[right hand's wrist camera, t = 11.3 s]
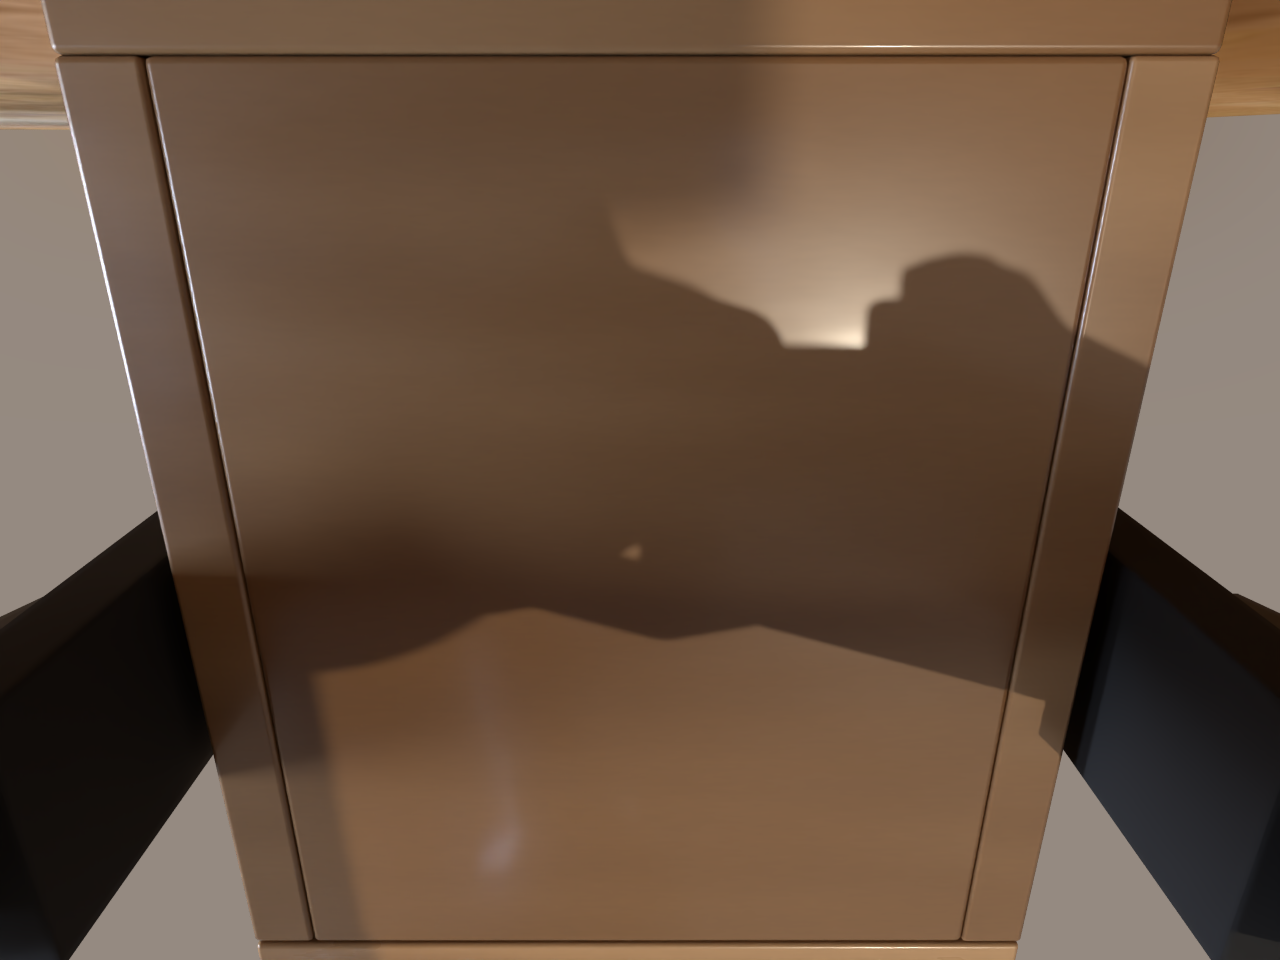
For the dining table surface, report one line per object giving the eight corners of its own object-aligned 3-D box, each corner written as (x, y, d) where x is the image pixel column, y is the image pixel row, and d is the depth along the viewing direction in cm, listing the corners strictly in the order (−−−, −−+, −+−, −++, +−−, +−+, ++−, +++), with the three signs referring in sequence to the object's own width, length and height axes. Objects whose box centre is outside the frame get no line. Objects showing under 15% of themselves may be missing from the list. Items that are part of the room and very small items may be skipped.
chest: (829, 83, 22) (800, 480, 26) (447, 84, 22) (477, 480, 26) (1247, -51, 7) (1021, 943, 11) (23, -52, 7) (254, 942, 11)
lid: (795, 471, 27) (778, 693, 30) (482, 472, 27) (498, 693, 30) (1020, 945, 11) (936, 1313, 14) (255, 946, 11) (340, 1314, 14)
